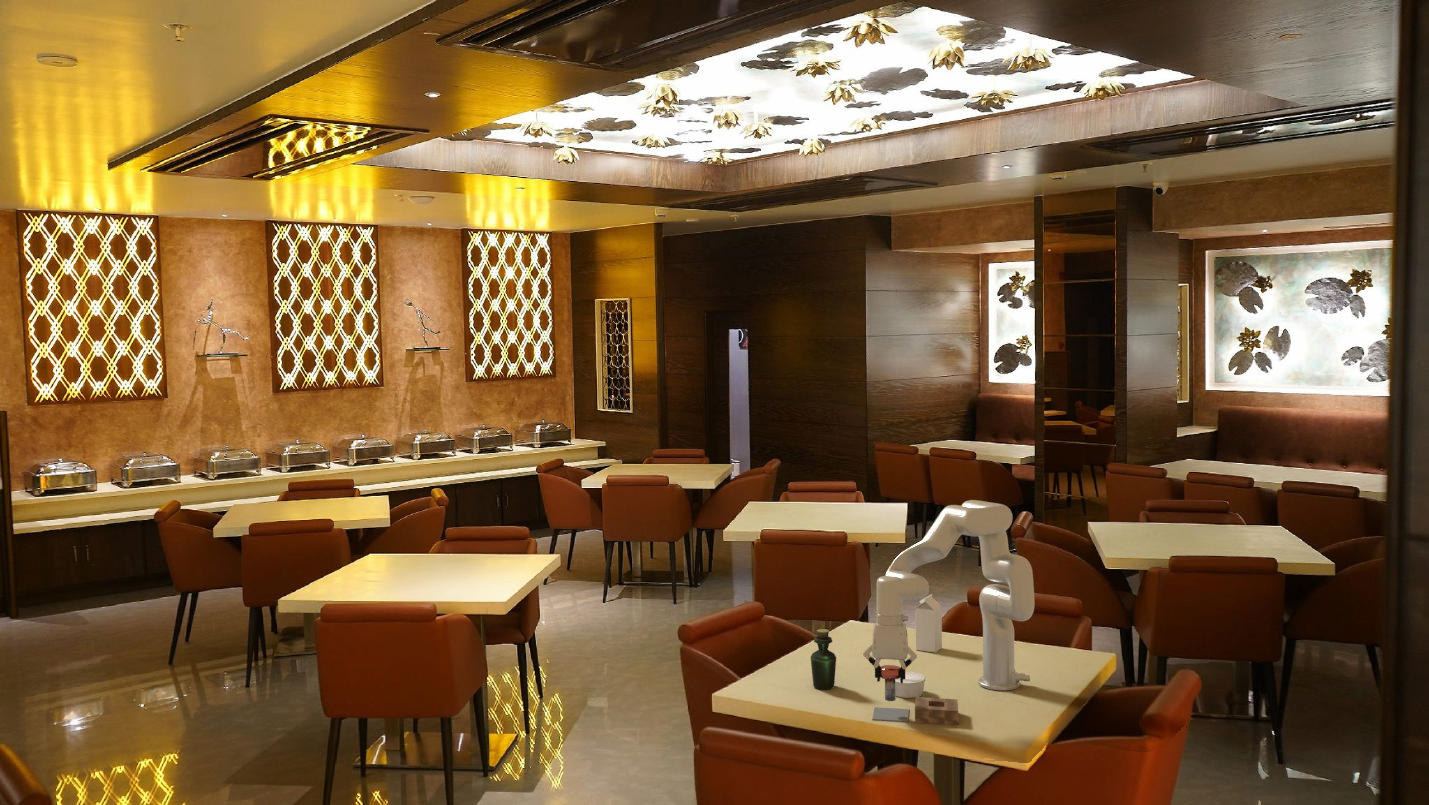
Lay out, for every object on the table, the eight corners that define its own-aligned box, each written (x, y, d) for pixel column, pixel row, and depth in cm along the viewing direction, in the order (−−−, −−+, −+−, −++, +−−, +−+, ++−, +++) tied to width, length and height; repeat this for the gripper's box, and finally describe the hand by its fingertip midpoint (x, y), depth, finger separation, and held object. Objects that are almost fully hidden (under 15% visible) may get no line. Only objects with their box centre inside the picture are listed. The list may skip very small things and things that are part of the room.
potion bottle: (816, 681, 329) (816, 626, 329) (840, 685, 326) (839, 629, 325) (806, 689, 322) (806, 632, 321) (830, 692, 318) (830, 635, 318)
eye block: (957, 712, 298) (957, 699, 298) (958, 725, 289) (958, 711, 289) (915, 710, 301) (915, 697, 301) (914, 722, 291) (914, 708, 291)
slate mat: (908, 710, 302) (908, 709, 301) (907, 722, 292) (907, 721, 292) (874, 708, 304) (874, 707, 304) (872, 720, 294) (872, 719, 294)
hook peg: (880, 695, 301) (880, 664, 301) (901, 696, 300) (901, 665, 299) (879, 702, 295) (879, 670, 295) (900, 703, 294) (900, 671, 293)
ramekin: (898, 701, 309) (898, 684, 309) (882, 690, 320) (882, 673, 320) (932, 697, 313) (932, 680, 312) (914, 686, 323) (914, 669, 323)
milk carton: (942, 648, 364) (941, 595, 363) (935, 653, 358) (934, 599, 357) (922, 645, 368) (922, 593, 367) (915, 650, 362) (915, 597, 361)
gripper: (920, 617, 298) (920, 678, 299) (860, 615, 302) (861, 675, 303) (919, 624, 291) (920, 686, 292) (858, 621, 295) (859, 683, 295)
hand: (890, 680), depth 297 cm, fingers closed on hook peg, 6 cm apart
